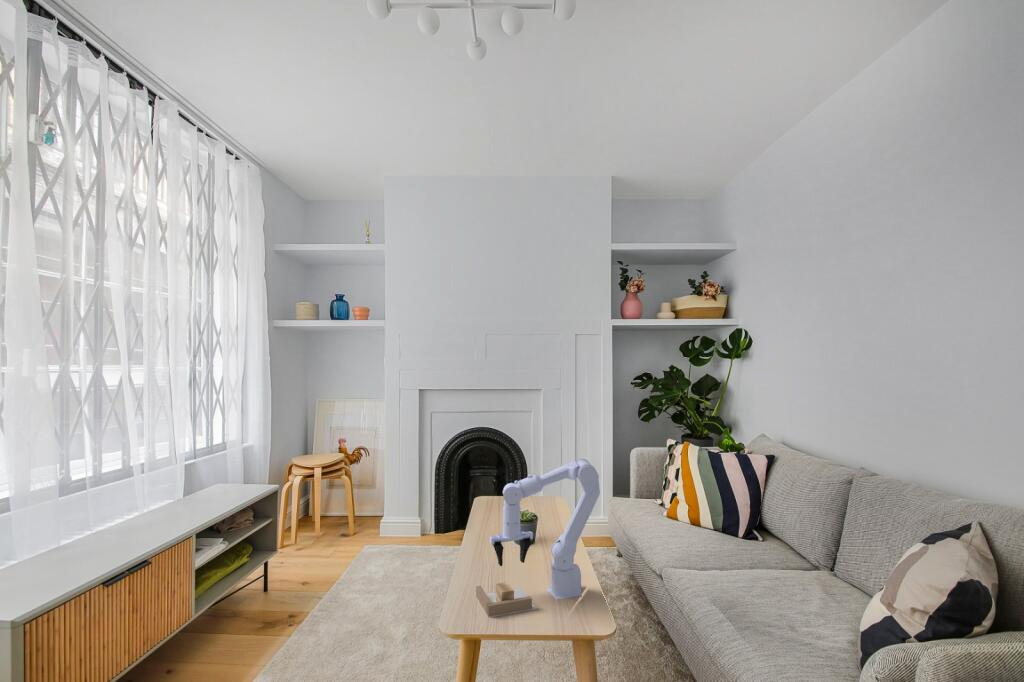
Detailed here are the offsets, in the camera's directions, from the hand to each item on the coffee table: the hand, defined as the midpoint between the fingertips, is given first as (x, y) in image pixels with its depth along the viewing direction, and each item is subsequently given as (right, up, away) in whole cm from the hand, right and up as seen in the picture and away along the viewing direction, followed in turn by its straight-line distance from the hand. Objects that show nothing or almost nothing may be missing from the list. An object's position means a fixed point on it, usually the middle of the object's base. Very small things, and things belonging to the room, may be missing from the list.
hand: (511, 563), depth 162 cm
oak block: (-2, -9, -8) cm, 12 cm away
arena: (-2, -10, -7) cm, 12 cm away
